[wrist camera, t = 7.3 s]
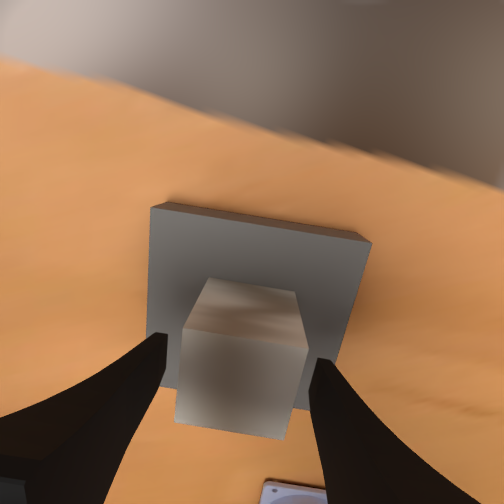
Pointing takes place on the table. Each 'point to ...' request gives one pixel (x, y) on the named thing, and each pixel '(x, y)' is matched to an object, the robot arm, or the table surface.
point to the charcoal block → (252, 274)
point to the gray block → (241, 359)
